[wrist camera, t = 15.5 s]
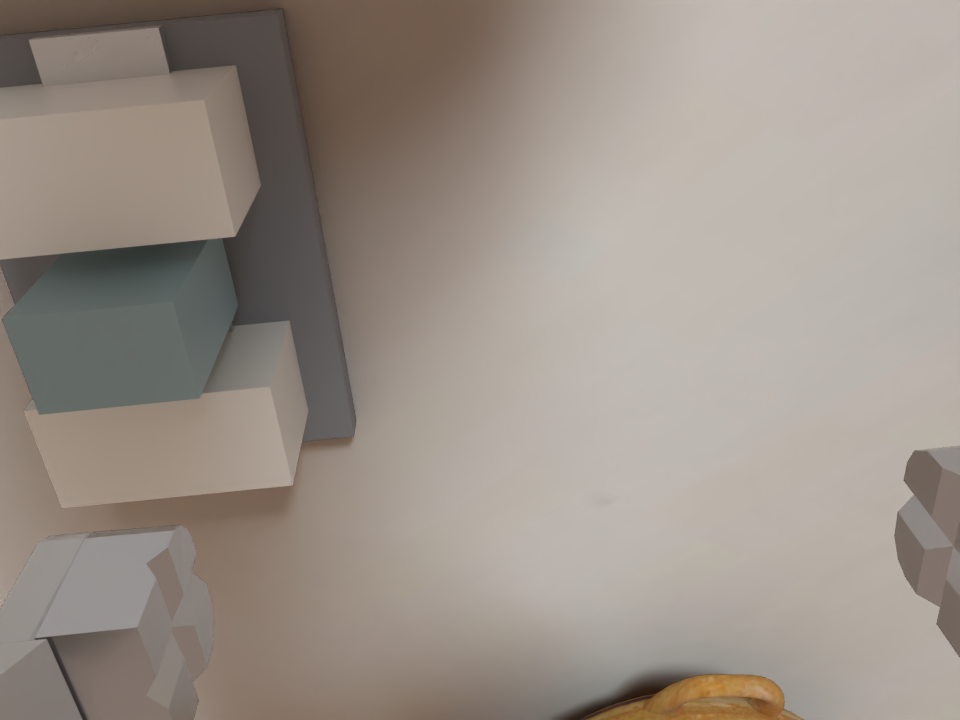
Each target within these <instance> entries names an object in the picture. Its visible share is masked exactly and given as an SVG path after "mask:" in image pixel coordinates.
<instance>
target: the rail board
mask: <svg viewBox="0 0 960 720" xmlns="http://www.w3.org/2000/svg"><path fill="white" fill-rule="evenodd" d="M217 238H222V239H223V243H224V248H225V252H226V256H227V260H228V264H229V268H230V272H231V277H232V281H233V285H234V289H235V293H236V297H237V301H238V308H237V310H236V313H235V315H234V317H233V320H232V322H231V325H230V327H229V329H228V332H227V334H226V337H225V339H224V341H223V344H222V346H221V349H220V351H219V354H218V356H217V358H216V361H215V363H214V366H213V368H212V370H211V373H210V375H209V378H208V380H207V382H206V385H205V387H204V390H203V392H202V394H201V397H200V398H199V399H190V400H180V401H170V402H160V403H150V404H140V405H131V406H121V407H111V408H101V409H91V410H82V411H72V412H62V413H52V414H42V415H39V413H38V411H37V408H36V406H35V403H34V401H33V399H32V400H31V401H30V403H29V404H28V406H27V407H26V408H25V410H24V411H23V412H24V414H25V417H26V419H27V422H28V424H29V427H30V429H31V432H32V434H33V437H34V439H35V442H36V445H37V447H38V450H39V452H40V455H41V457H42V460H43V462H44V465H45V467H46V470H47V472H48V475H49V477H50V480H51V482H52V485H53V488H54V490H55V493H56V495H57V498H58V500H59V503H60V505H61V508H62V509H63V508H73V507H83V506H93V505H103V504H113V503H123V502H133V501H143V500H153V499H163V498H173V497H183V496H193V495H203V494H213V493H223V492H233V491H243V490H253V489H262V488H272V487H282V486H292V485H293V482H294V477H295V473H296V468H297V463H298V458H299V453H300V449H301V444H302V442H304V441H314V440H324V439H334V438H344V437H354V435H355V426H356V416H355V410H354V405H353V399H352V394H351V388H350V383H349V377H348V371H347V366H346V360H345V355H344V349H343V344H342V338H341V332H340V327H339V321H338V316H337V310H336V304H335V299H334V293H333V288H332V282H331V277H330V271H329V265H328V260H327V254H326V249H325V243H324V238H323V232H322V226H321V221H320V215H319V210H318V204H317V198H316V193H315V187H314V182H313V176H312V171H311V165H310V159H309V154H308V148H307V143H306V137H305V131H304V126H303V120H302V115H301V109H300V104H299V98H298V92H297V87H296V81H295V76H294V70H293V65H292V59H291V53H290V48H289V42H288V37H287V31H286V25H285V20H284V14H283V9H273V10H263V11H252V12H242V13H231V14H221V15H211V16H200V17H190V18H179V19H169V20H158V21H148V22H137V23H127V24H116V25H106V26H95V27H85V28H75V29H64V30H54V31H43V32H33V33H22V34H12V35H1V36H0V265H1V268H2V271H3V273H4V276H5V279H6V281H7V284H8V287H9V289H10V292H11V295H12V297H13V300H14V303H15V304H16V303H17V302H18V301H19V300H20V299H21V298H22V297H23V295H24V294H25V293H26V292H27V291H28V290H29V289H30V288H31V287H32V286H33V285H34V284H35V282H36V281H37V280H38V279H39V278H40V277H41V276H42V275H43V274H44V273H45V272H46V270H47V269H48V268H49V267H50V266H51V265H52V264H53V263H54V262H55V261H56V260H57V259H58V257H59V256H60V255H61V254H63V253H73V252H84V251H94V250H104V249H114V248H124V247H135V246H145V245H155V244H165V243H176V242H186V241H196V240H206V239H217Z"/></svg>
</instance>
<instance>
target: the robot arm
mask: <svg viewBox="0 0 960 720" xmlns="http://www.w3.org/2000/svg"><path fill="white" fill-rule="evenodd" d="M904 482H905V483H906V484H907V486H908V487H909V488H910V490H911V491H912V492H913V494H914V495H913V496H912V497H911V499H910V500H909V501H908V502H907V503H906V504H905V505H904V506H903V507H902V508H901V509H900V510H899V511H898V513H897V520H896V528H895V535H894V537H895V543H896V550H897V556H898V561H899V563H900V566H901V568H902V570H903V573H904V575H905V577H906V579H907V581H908V582H909V584H910V585H911V587H912V588H913V590H914V591H915V593H916V594H917V595H919V596H921V597H923V598H925V599H926V600H928V601H930V602H932V603H933V604H935V605H937V606H939V607H940V609H939V614H938V618H937V623H936V624H937V625H938V627H939V628H940V630H941V631H942V633H943V634H944V636H945V637H946V639H947V640H948V641H949V643H950V644H951V646H952V647H953V649H954V650H955V652H956V653H957V655H958V656H959V657H960V446H952V447H943V448H933V449H924V450H915V451H914V452H913V454H912V455H911V457H910V458H909V460H908V462H907V466H906V470H905V475H904ZM196 554H197V552H196V549H195V546H194V543H193V540H192V538H191V535H190V532H189V530H188V529H186V528H185V527H183V526H182V525H173V526H160V527H148V528H135V529H123V530H110V531H98V532H93V533H79V534H68V535H57V536H49V537H47V538H45V539H44V540H42V541H40V542H39V543H38V544H37V545H36V547H35V549H34V551H33V552H32V554H31V556H30V558H29V559H28V561H27V563H26V565H25V566H24V568H23V570H22V572H21V573H20V575H19V577H18V578H17V580H16V582H15V584H14V585H13V587H12V589H11V591H10V592H9V594H8V596H7V598H6V599H5V601H4V603H3V605H2V606H1V608H0V720H194V716H195V712H196V709H197V705H198V701H199V700H198V697H197V694H196V691H195V688H194V685H193V681H194V680H195V679H196V678H197V677H198V676H199V675H200V674H201V673H202V672H203V671H204V670H205V669H206V668H207V667H208V663H209V659H210V655H211V651H212V647H213V631H214V616H213V609H212V601H211V597H210V594H209V590H208V587H207V584H206V582H204V581H203V580H202V579H200V578H199V577H198V576H196V575H195V574H194V573H192V572H191V570H192V567H193V564H194V561H195V557H196Z"/></svg>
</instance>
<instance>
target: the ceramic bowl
mask: <svg viewBox="0 0 960 720" xmlns="http://www.w3.org/2000/svg"><path fill="white" fill-rule="evenodd" d="M783 708H784V695H783V693H782V690H781V689H780V688H779V687H778V685H776V684H775V683H774V682H773V681H771V680H769V679H767V678H764V677H761V676H754V675H729V674H707V675H699V676H694V677H690V678H687V679H683V680H680V681H678V682H676V683H674V684H672V685H670V686H668V687H666V688H664V689H663V690H661V691H660V692H658V693H657V694H652V695H646V696H641V697H638V698H634V699H630V700H627V701H623V702H620V703H616V704H613V705H611V706H608V707H606V708H604V709H601V710H599V711H597V712H594V713H592V714H589V715H587V716H586V717H584V718H582V719H580V720H803V719H802V718H800V717H798V716H797V715H795V714H793V713H791V712H790V711H787V710H785V709H783Z"/></svg>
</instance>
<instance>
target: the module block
mask: <svg viewBox="0 0 960 720" xmlns="http://www.w3.org/2000/svg"><path fill="white" fill-rule="evenodd" d="M237 308H238V301H237V297H236V293H235V289H234V285H233V281H232V277H231V272H230V268H229V264H228V260H227V256H226V252H225V248H224V243H223V239H222V238H217V239H206V240H196V241H186V242H176V243H165V244H155V245H145V246H135V247H124V248H114V249H104V250H94V251H84V252H73V253H63V254H61V255H60V256H59V257H58V259H57V260H56V261H55V262H54V263H53V264H52V265H51V266H50V267H49V268H48V269H47V270H46V272H45V273H44V274H43V275H42V276H41V277H40V278H39V279H38V280H37V281H36V282H35V284H34V285H33V286H32V287H31V288H30V289H29V290H28V291H27V292H26V293H25V294H24V295H23V297H22V298H21V299H20V300H19V301H18V302H17V303H16V304H15V305H14V306H13V307H12V308H11V310H10V311H9V312H8V313H7V314H6V315H5V316H4V317H3V318H2V321H3V324H4V326H5V329H6V331H7V334H8V337H9V339H10V342H11V344H12V347H13V349H14V352H15V354H16V357H17V360H18V362H19V365H20V367H21V370H22V372H23V375H24V378H25V380H26V383H27V385H28V388H29V390H30V393H31V396H32V398H33V401H34V403H35V406H36V408H37V411H38V413H39V415H42V414H52V413H62V412H72V411H82V410H91V409H101V408H111V407H121V406H131V405H140V404H150V403H160V402H170V401H180V400H190V399H199V398H200V397H201V394H202V392H203V390H204V387H205V385H206V382H207V380H208V378H209V375H210V373H211V370H212V368H213V366H214V363H215V361H216V358H217V356H218V354H219V351H220V349H221V346H222V344H223V341H224V339H225V337H226V334H227V332H228V329H229V327H230V325H231V322H232V320H233V317H234V315H235V313H236V310H237Z"/></svg>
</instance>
